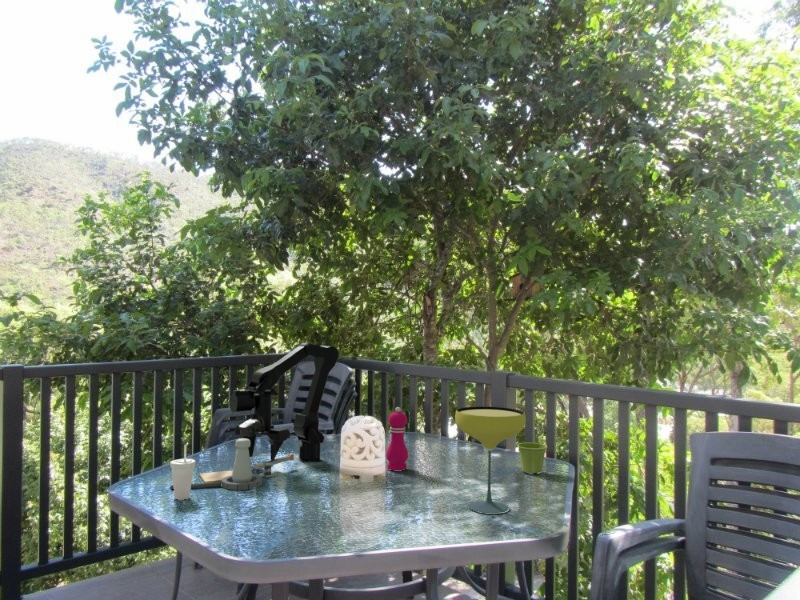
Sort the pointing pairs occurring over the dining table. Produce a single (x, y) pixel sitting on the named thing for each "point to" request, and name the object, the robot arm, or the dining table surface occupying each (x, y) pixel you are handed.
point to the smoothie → (182, 476)
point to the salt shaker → (242, 462)
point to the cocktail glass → (490, 439)
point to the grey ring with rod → (231, 484)
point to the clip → (273, 462)
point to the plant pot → (532, 456)
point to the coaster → (215, 476)
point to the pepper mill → (397, 441)
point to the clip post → (267, 473)
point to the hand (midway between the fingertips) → (261, 458)
